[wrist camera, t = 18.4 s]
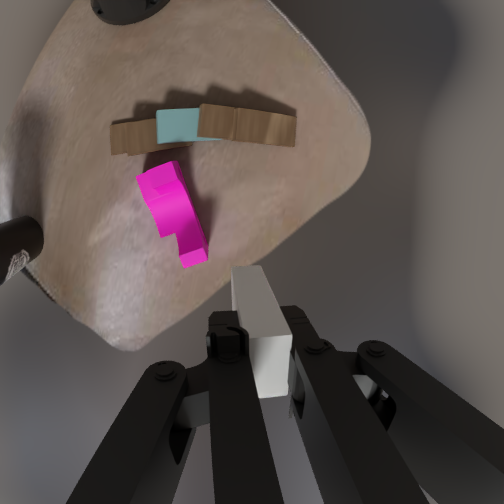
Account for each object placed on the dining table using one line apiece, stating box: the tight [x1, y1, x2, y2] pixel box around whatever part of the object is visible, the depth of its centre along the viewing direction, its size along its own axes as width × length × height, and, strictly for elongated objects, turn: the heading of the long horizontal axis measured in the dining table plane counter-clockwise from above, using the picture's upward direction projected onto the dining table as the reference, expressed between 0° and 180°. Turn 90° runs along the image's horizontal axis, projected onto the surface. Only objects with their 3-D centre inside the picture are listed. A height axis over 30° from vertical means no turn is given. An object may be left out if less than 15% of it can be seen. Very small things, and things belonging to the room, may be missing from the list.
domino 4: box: [197, 104, 236, 140], centre depth 43 cm, size 2×5×10 cm
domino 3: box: [156, 108, 222, 144], centre depth 42 cm, size 2×5×10 cm
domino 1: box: [110, 118, 155, 155], centre depth 43 cm, size 2×5×10 cm
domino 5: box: [232, 108, 297, 147], centre depth 43 cm, size 2×5×10 cm
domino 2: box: [124, 118, 192, 156], centre depth 42 cm, size 2×5×10 cm
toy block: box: [136, 161, 208, 268], centre depth 44 cm, size 15×6×8 cm, turn 18°
